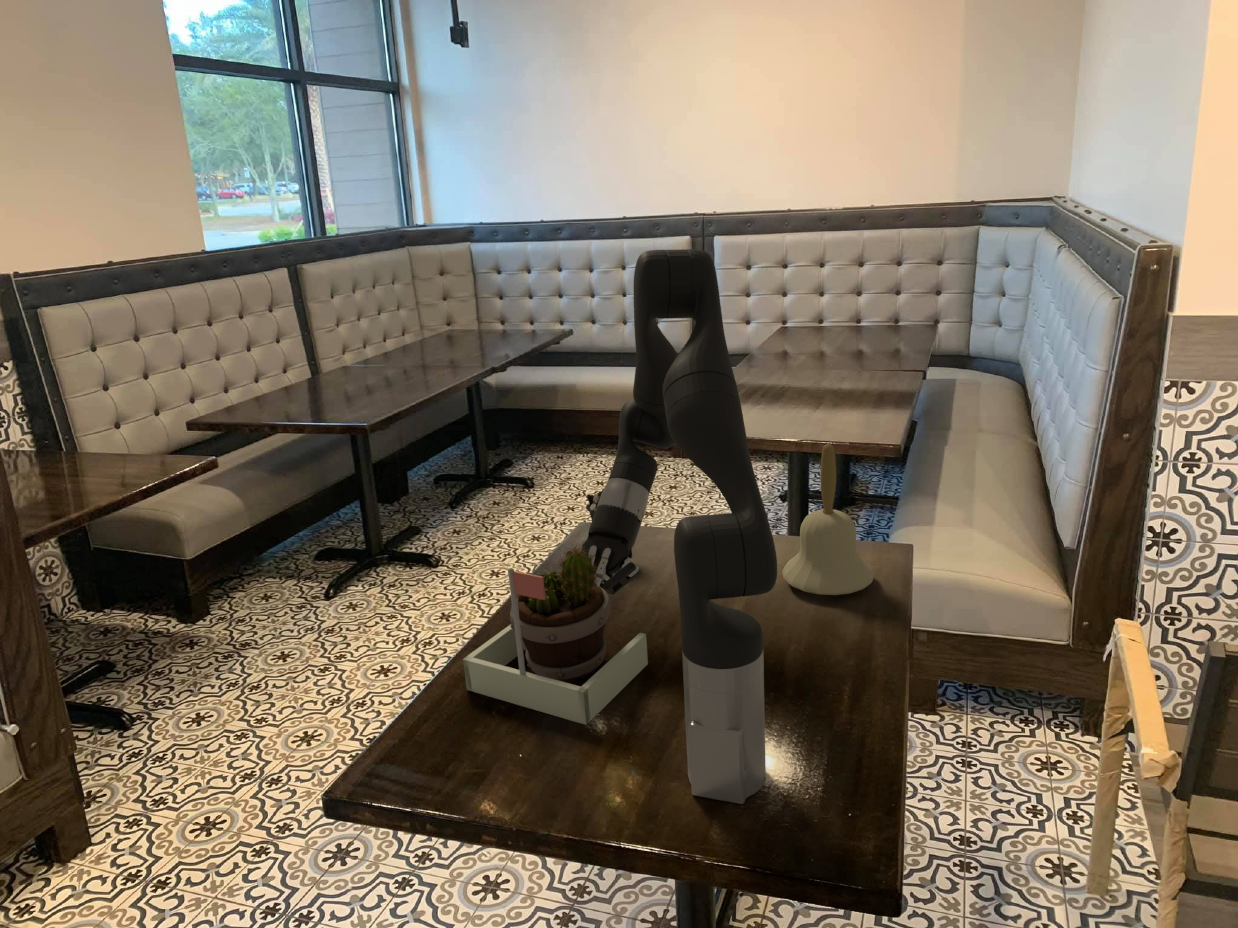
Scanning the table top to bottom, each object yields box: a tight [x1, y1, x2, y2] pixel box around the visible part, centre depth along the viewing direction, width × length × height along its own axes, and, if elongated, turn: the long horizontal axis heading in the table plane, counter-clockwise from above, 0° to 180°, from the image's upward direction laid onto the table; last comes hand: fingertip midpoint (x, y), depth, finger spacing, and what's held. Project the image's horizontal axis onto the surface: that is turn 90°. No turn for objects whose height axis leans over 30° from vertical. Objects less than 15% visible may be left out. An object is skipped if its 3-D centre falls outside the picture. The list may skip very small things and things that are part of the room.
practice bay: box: [462, 567, 649, 726], centre depth 128 cm, size 17×20×21 cm
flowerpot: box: [509, 542, 612, 684], centre depth 130 cm, size 14×15×20 cm
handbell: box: [781, 443, 875, 596], centre depth 151 cm, size 15×15×25 cm
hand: (584, 616), depth 136 cm, fingers closed
